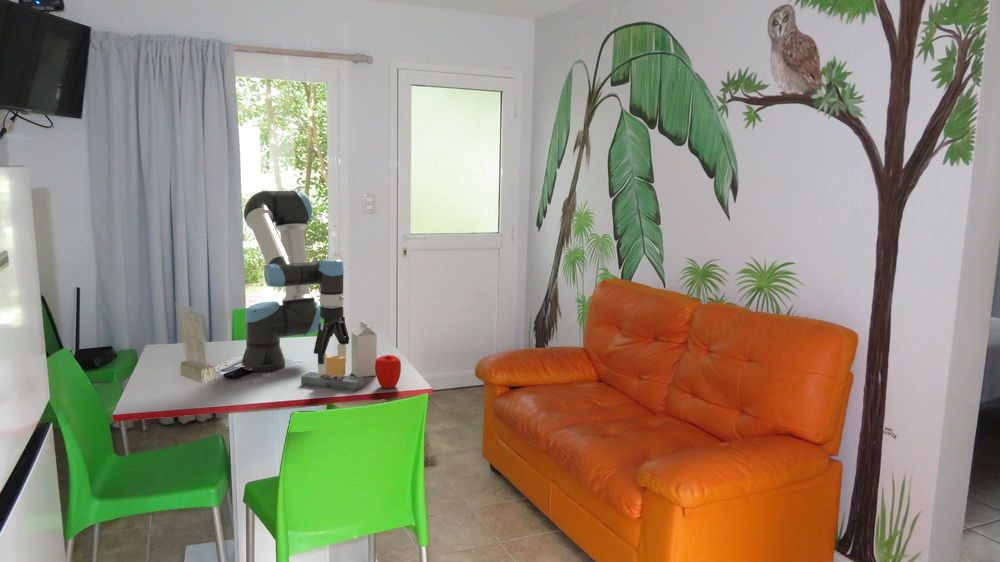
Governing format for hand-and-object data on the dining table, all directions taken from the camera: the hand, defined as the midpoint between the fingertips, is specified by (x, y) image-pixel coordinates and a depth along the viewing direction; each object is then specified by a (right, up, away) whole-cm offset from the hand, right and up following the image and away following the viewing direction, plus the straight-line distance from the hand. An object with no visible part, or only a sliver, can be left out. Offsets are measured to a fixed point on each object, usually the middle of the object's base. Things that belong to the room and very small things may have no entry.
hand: (332, 367), depth 239 cm
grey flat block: (0, -6, +1) cm, 6 cm away
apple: (+18, -7, +1) cm, 20 cm away
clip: (0, -6, +1) cm, 6 cm away
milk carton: (+8, -4, +15) cm, 18 cm away
